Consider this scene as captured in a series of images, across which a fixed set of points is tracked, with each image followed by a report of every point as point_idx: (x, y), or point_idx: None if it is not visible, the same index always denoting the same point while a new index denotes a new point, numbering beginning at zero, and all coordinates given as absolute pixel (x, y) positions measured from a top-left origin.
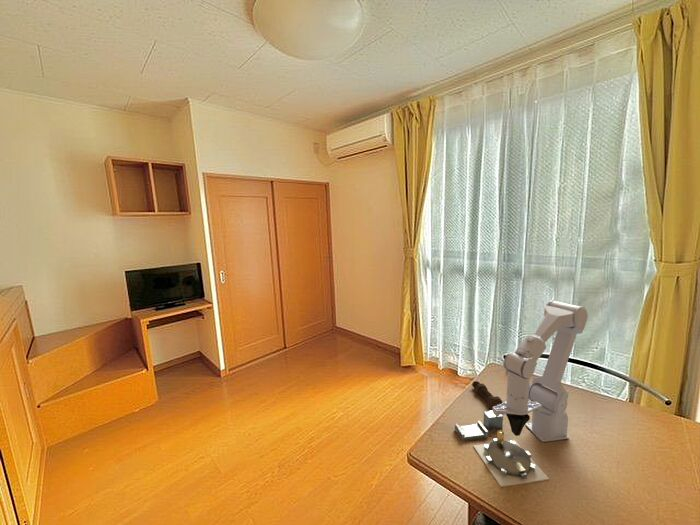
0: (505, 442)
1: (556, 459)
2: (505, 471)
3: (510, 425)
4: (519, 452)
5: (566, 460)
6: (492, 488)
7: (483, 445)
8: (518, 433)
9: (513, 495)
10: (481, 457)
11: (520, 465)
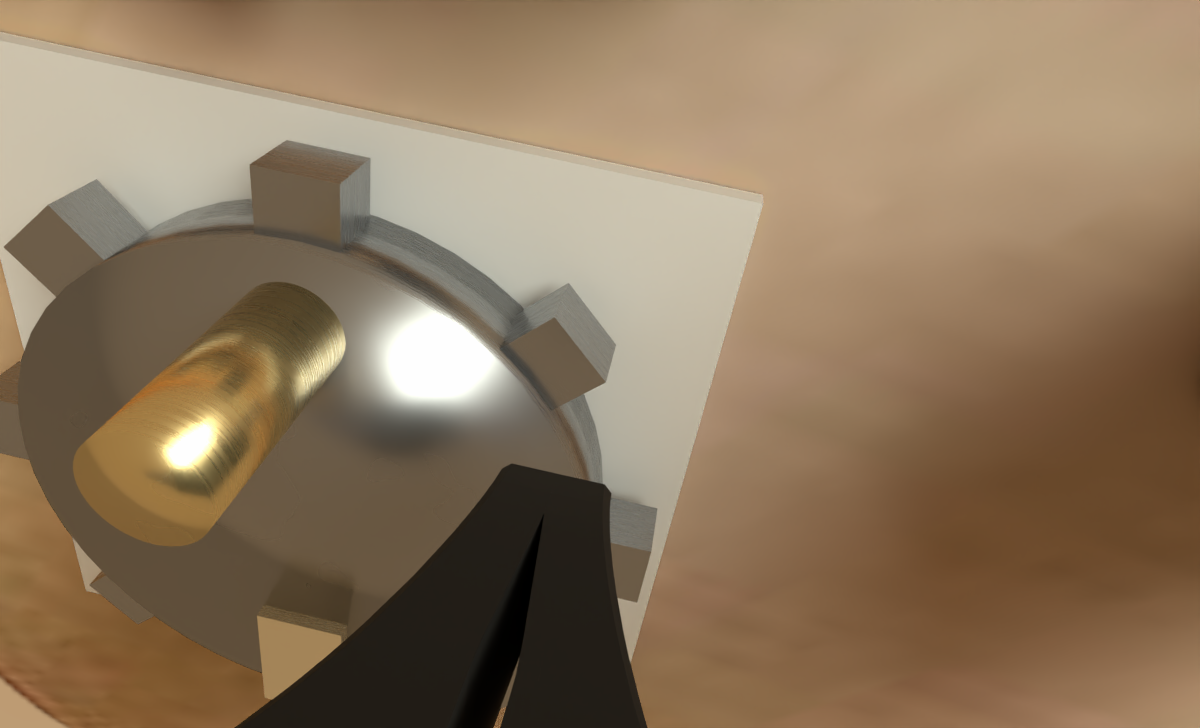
0: (409, 339)
1: (992, 623)
2: (129, 615)
3: (442, 550)
4: None
5: (1092, 672)
6: (10, 557)
7: (123, 93)
8: (519, 651)
9: (172, 656)
10: (4, 270)
11: None
